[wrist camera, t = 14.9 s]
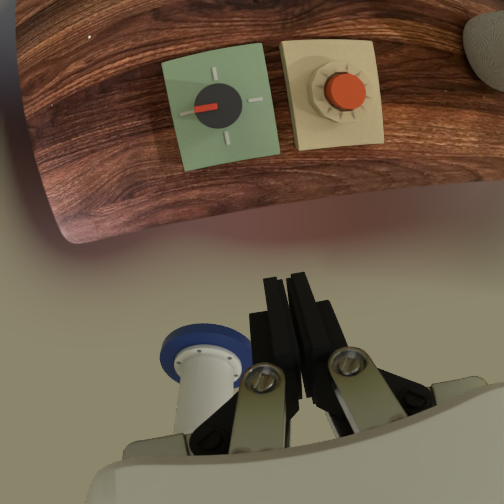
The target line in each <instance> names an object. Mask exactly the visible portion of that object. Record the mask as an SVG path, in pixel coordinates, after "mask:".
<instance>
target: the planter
mask: <svg viewBox="0 0 504 504" xmlns="http://www.w3.org/2000/svg"><path fill="white" fill-rule="evenodd" d="M463 45H464V50H465V54H466V56H467V59H468V61H469V63H470V65H471V67H472V69H473V70H474V72H475V73H476V75H477V76H478V77H479V78H480V79H481V80H482V81H483V82H484V83H485V84H487V85H488V86H490V87H492V88H494V89H497V90H500V91H503V92H504V10H502V11H496V12H490V13H485V14H481V15H478V16H475V17H473V18H471V19H470V20H469V21H468V22H467V23H466V25H465V27H464V30H463Z"/></svg>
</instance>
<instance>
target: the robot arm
mask: <svg viewBox="0 0 504 504" xmlns="http://www.w3.org/2000/svg"><path fill="white" fill-rule="evenodd" d="M263 282H264V289H265V295H266V302H267V309H268V311H263V312H256V313H250V314H249V320H250V334H251V350H252V364H253V365H252V366H250V367H249V368H248V369H246V370H245V372H244V373H243V374H242V376H241V379H240V385H239V391H238V392H237V393H236V394H235V395H234V390H233V389H234V387H233V382H235V381H236V380H237V379H238V378H239V377H240V375H241V371H242V365H241V362H240V360H239V358H238V357H237V356H236V355H235V354H234V353H233V352H231V351H230V350H227V349H225V348H223V347H219V346H215V345H208V344H200V345H193V346H189V347H187V348H185V349H183V350H181V351H180V352H179V353H178V354H177V356H176V357H175V362H174V368H175V371H176V372H177V374H178V375H179V376H180V377H181V379H180V387H179V393H178V401H177V408H176V417H175V425H174V434H173V435H169V436H164V437H158V438H152V439H147V440H140V441H135V442H132V443H130V444H129V445H128V446H126V448H125V450H124V451H123V460H121V461H118V462H115V463H112V464H110V465H107V466H105V467H104V468H102V469H101V470H99V471H98V472H97V474H96V475H95V476H94V478H93V480H92V482H91V484H90V487H89V490H88V493H87V496H86V500H85V504H504V382H503V383H495V384H489V385H488V384H487V382H486V381H485V380H484V379H483V378H481V377H478V376H472V377H466V378H462V379H457V380H452V381H446V382H440V383H435V384H432V385H431V387H425V386H423V385H421V384H418V383H416V382H413V381H410V380H408V379H405V378H402V377H400V376H397V375H394V374H392V373H389V372H387V371H384V370H381V369H379V368H377V367H376V366H375V364H374V363H373V361H372V360H371V358H370V357H369V355H368V354H367V353H366V352H365V351H363V350H362V349H360V348H356V347H348V345H347V343H346V340H345V338H344V335H343V333H342V330H341V328H340V325H339V323H338V320H337V318H336V315H335V313H334V311H333V308H332V306H331V304H330V301H329V300H324V301H319V302H315V299H314V296H313V294H312V291H311V289H310V285H309V283H308V280H307V277H306V275H305V272H300V273H294V274H291V278H286V282H287V291H288V300H289V305H288V301H287V297H286V293H285V289H284V285H283V280H282V279H280V280H277V277H271V278H265V279H263ZM301 374H302V378H303V383H304V388H305V393H306V397H307V398H309V397H312V400H313V404H316V406H317V407H319V408H321V409H323V410H325V413H326V416H327V419H328V421H329V423H330V425H331V428H332V430H333V432H334V434H335V437H336V439H332V440H328V441H323V442H318V443H313V444H308V445H303V446H298V447H291V448H290V444H291V418H292V417H293V416H294V415H295V414H296V413H297V412H298V410H299V402H298V400H299V399H302V384H301Z"/></svg>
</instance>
